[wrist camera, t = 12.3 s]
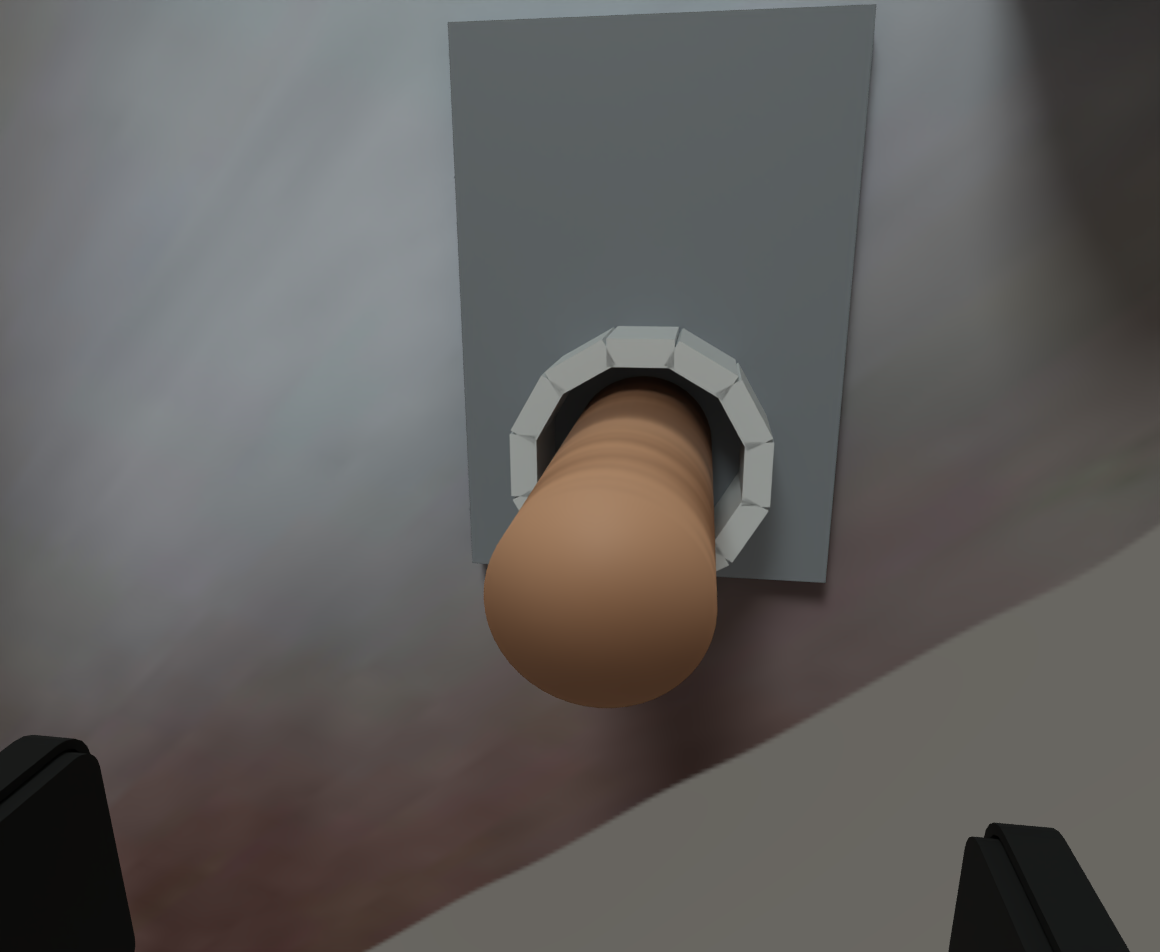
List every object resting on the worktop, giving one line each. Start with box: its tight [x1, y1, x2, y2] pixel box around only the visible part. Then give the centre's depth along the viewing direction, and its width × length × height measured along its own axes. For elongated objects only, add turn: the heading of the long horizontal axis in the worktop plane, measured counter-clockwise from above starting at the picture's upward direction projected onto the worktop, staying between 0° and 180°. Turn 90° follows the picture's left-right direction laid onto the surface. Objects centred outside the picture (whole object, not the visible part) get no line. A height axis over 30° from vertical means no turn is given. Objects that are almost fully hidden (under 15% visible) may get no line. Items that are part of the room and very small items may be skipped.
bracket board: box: [448, 4, 876, 583], centre depth 25 cm, size 17×12×4 cm
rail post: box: [484, 376, 717, 708], centre depth 21 cm, size 4×4×12 cm
